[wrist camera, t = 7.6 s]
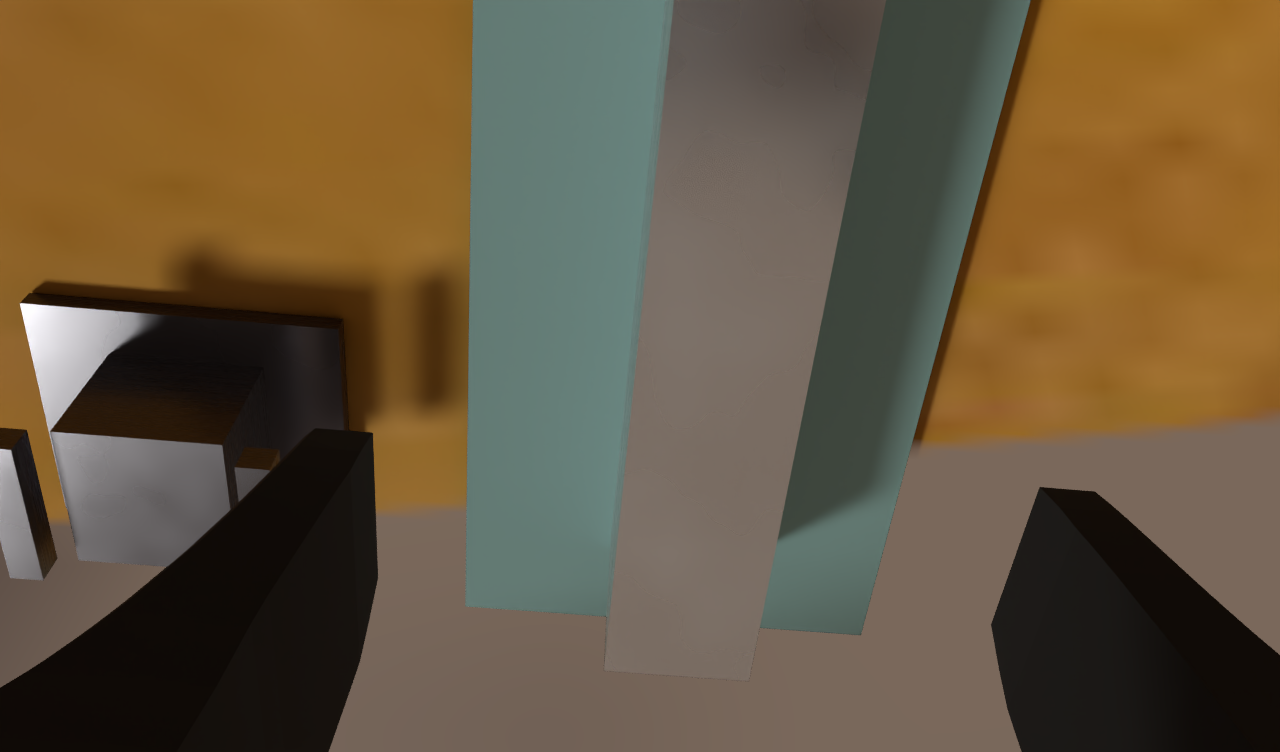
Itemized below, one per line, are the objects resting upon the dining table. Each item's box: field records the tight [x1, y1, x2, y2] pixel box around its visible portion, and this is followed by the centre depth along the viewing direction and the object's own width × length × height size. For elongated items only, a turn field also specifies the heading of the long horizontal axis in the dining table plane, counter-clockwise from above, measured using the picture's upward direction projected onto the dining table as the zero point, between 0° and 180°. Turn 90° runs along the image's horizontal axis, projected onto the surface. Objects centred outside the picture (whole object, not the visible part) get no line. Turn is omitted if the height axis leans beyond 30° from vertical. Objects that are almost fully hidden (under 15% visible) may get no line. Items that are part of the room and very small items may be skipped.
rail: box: [604, 0, 886, 681], centre depth 19 cm, size 18×3×4 cm, turn 175°
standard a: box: [0, 293, 349, 580], centre depth 22 cm, size 5×6×4 cm
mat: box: [465, 0, 1031, 635], centre depth 21 cm, size 22×9×1 cm, turn 175°
